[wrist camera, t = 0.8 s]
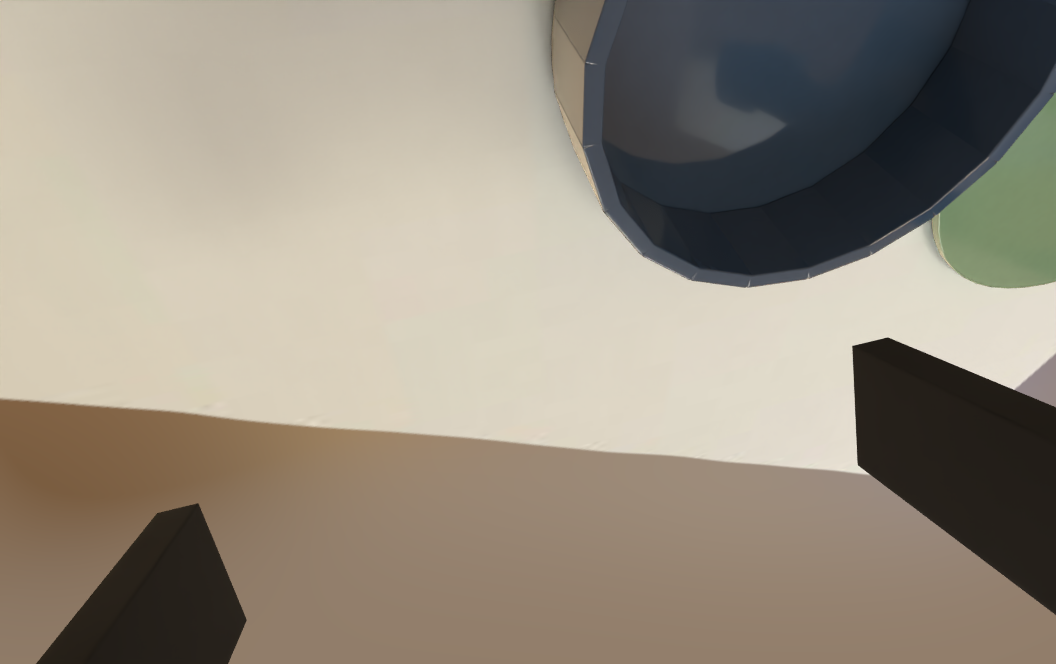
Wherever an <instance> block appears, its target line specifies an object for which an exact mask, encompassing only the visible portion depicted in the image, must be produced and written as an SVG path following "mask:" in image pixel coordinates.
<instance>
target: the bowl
mask: <svg viewBox="0 0 1056 664" xmlns="http://www.w3.org/2000/svg"><path fill="white" fill-rule="evenodd" d="M551 46H552V71H553V78H554V90H555V91H554V92H555V95H556V98H557V101H558V104H559V107H560V110H561V114H562V117H563V120H564V123H565V125H566V128H567V130H568V133H569V136H570V139H571V142H572V145H573V148H574V151H575V153H576V155H577V157H578V159H579V161H580V163H581V165H582V167H583V170H584V172H585V174H586V176H587V178H588V180H589V182H590V184H591V187H592V189H593V191H594V193H595V195H596V197H597V199H598V201H599V203H600V206H601V208H602V210H603V211H604V213H605V214H606V215H607V217H608V218H609V219H610V220H611V221H612V222H613V224H614V225H615V226H616V227H617V228H618V229H619V231H620V232H621V233H622V234H623V235H624V236H625V238H626V239H627V240H628V241H629V242H630V243H631V245H632V246H633V247H634V248H635V249H636V250H637V251H638V253H639V254H641V255H642V256H643V257H645V258H647V259H649V260H651V261H653V262H655V263H657V264H659V265H661V266H663V267H665V268H667V269H669V270H671V271H673V272H675V273H677V274H679V275H681V276H683V277H684V278H686V279H688V280H692V281H698V282H706V283H713V284H721V285H729V286H736V287H744V288H746V287H748V288H749V287H756V286H764V285H771V284H778V283H785V282H792V281H799V280H806V279H807V278H808V279H810V278H812V277H815V276H818V275H820V274H823V273H826V272H828V271H831V270H834V269H836V268H839V267H842V266H844V265H847V264H850V263H852V262H855V261H858V260H860V259H863V258H866V257H868V256H870V255H872V254H874V253H876V252H878V251H879V250H881V249H883V248H884V247H886V246H888V245H889V244H891V243H893V242H894V241H896V240H897V239H899V238H901V237H902V236H904V235H906V234H907V233H909V232H911V231H912V230H914V229H916V228H917V227H919V226H921V225H922V224H924V223H926V222H927V221H929V220H931V219H932V218H934V217H935V216H936V215H938V214H939V213H940V212H941V211H942V210H944V209H945V208H946V207H947V206H948V205H949V204H951V203H952V202H953V201H954V200H955V199H956V198H958V197H959V196H960V195H961V194H962V193H963V192H964V191H966V190H967V189H968V188H969V187H970V186H971V185H973V184H974V183H975V182H976V181H977V180H978V179H979V178H981V177H982V176H983V175H984V174H985V173H986V172H988V171H989V170H990V169H991V168H992V167H993V166H995V165H996V164H997V162H998V161H1000V159H1001V158H1002V157H1003V156H1004V155H1005V153H1006V152H1007V151H1008V150H1009V149H1010V147H1011V146H1012V145H1013V144H1014V143H1015V141H1016V140H1017V139H1018V138H1019V137H1020V135H1021V134H1022V133H1023V132H1024V130H1025V129H1026V128H1027V127H1028V126H1029V124H1030V123H1031V122H1032V121H1033V120H1034V118H1035V117H1036V116H1037V115H1038V114H1039V112H1040V111H1041V110H1042V109H1043V107H1044V106H1045V105H1046V104H1047V103H1048V101H1049V100H1050V99H1051V98H1052V97H1053V95H1054V93H1055V92H1056V0H555V4H554V14H553V25H552V35H551Z"/></svg>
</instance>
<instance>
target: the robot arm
mask: <svg viewBox="0 0 1056 664" xmlns="http://www.w3.org/2000/svg"><path fill="white" fill-rule="evenodd" d="M852 348H853V370H854V393H855V415H856V437H857V460H858V466H860V467H861V468H862V469H864V470H865V471H866V472H868V473H869V474H870V475H872V476H873V477H874V478H876V479H877V480H878V481H880V482H881V483H882V484H883V485H885V486H886V487H887V488H889V489H890V490H891V491H893V492H894V493H895V494H897V495H898V496H900V497H901V498H902V499H903V500H905V501H906V502H907V503H909V504H910V505H911V506H913V507H914V508H915V509H917V510H918V511H919V512H920V513H922V514H923V515H924V516H926V517H927V518H928V519H930V520H931V521H933V522H934V523H935V524H936V525H938V526H939V527H941V528H942V529H943V530H945V531H946V532H947V533H948V534H950V535H951V536H952V537H954V538H955V539H956V540H958V541H959V542H960V543H962V544H963V545H964V546H965V547H967V548H968V549H970V550H971V551H972V552H973V553H975V554H976V555H978V556H979V557H980V558H981V559H983V560H984V561H985V562H987V563H988V564H989V565H991V566H992V567H993V568H995V569H996V570H997V571H998V572H1000V573H1001V574H1002V575H1004V576H1005V577H1006V578H1008V579H1009V580H1010V581H1012V582H1013V583H1014V584H1016V585H1017V586H1018V587H1020V588H1021V589H1022V590H1024V591H1025V592H1026V593H1028V594H1029V595H1030V596H1032V597H1033V598H1034V599H1036V600H1037V601H1038V602H1040V603H1041V604H1042V605H1044V606H1045V607H1046V608H1047V609H1049V610H1050V611H1051V612H1053V613H1054V614H1055V615H1056V407H1054V406H1051V405H1049V404H1046V403H1044V402H1041V401H1039V400H1037V399H1034V398H1032V397H1030V396H1027V395H1025V394H1022V393H1020V392H1017V391H1015V390H1013V389H1010V388H1008V387H1006V386H1003V385H1001V384H998V383H996V382H994V381H991V380H989V379H986V378H984V377H982V376H979V375H977V374H974V373H972V372H970V371H967V370H965V369H962V368H960V367H958V366H955V365H953V364H950V363H948V362H946V361H943V360H941V359H938V358H936V357H933V356H931V355H929V354H926V353H924V352H921V351H919V350H917V349H914V348H912V347H909V346H907V345H905V344H902V343H900V342H897V341H895V340H893V339H890V338H884V339H880V340H876V341H871V342H867V343H863V344H859V345H855V346H852ZM245 623H246V617H245V615H244V612H243V610H242V607H241V605H240V603H239V600H238V598H237V595H236V593H235V591H234V588H233V586H232V583H231V581H230V579H229V576H228V574H227V571H226V569H225V566H224V564H223V562H222V559H221V557H220V554H219V552H218V550H217V547H216V545H215V542H214V540H213V538H212V535H211V533H210V530H209V528H208V526H207V523H206V521H205V518H204V516H203V514H202V511H201V509H200V507H199V504H194V505H189V506H185V507H181V508H177V509H173V510H169V511H164V512H161V513H157V514H156V516H155V517H154V518H153V519H152V520H151V522H150V523H149V524H148V525H147V527H146V528H145V529H144V530H143V532H142V533H141V534H140V535H139V537H138V538H137V539H136V540H135V542H134V543H133V544H132V545H131V546H130V548H129V549H128V550H127V552H126V553H125V554H124V555H123V557H122V558H121V559H120V560H119V561H118V563H117V564H116V565H115V566H114V568H113V569H112V570H111V571H110V573H109V574H108V575H107V576H106V578H105V579H104V580H103V581H102V583H101V584H100V585H99V586H98V588H97V589H96V590H95V591H94V592H93V594H92V595H91V596H90V598H89V599H88V600H87V601H86V603H85V604H84V605H83V606H82V607H81V609H80V610H79V611H78V612H77V614H76V615H75V616H74V617H73V619H72V620H71V621H70V622H69V624H68V625H67V626H66V627H65V629H64V630H63V631H62V632H61V634H60V635H59V636H58V637H57V638H56V640H55V641H54V642H53V643H52V645H51V646H50V647H49V649H48V650H47V651H46V652H45V654H44V655H43V656H42V657H41V658H40V660H39V661H38V662H37V663H36V664H228V662H229V660H230V658H231V655H232V653H233V651H234V648H235V646H236V644H237V641H238V639H239V637H240V635H241V632H242V630H243V628H244V625H245Z"/></svg>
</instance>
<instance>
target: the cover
mask: <svg viewBox="0 0 1056 664" xmlns="http://www.w3.org/2000/svg"><path fill="white" fill-rule="evenodd" d="M932 230H933V235H934V241H935V244H936V246H937V248H938V251H939V253H940V255H941V256H942V257H943V259H944V260H945V261H946V263H947V264H948V265H949V266H950V267H951V268H952V269H953V270H955V271H956V272H957V273H959V274H960V275H961V276H962V277H964V278H966V279H968V280H970V281H972V282H974V283H977V284H981V285H985V286H989V287H996V288H1025V287H1031V286H1038V285H1044V284H1048V283H1052V282H1056V92H1055V93H1054V95H1053V97H1052V98H1051V99H1050V100H1049V101H1048V103H1047V104H1046V105H1045V106H1044V107H1043V109H1042V110H1041V111H1040V112H1039V114H1038V115H1037V116H1036V117H1035V118H1034V120H1033V121H1032V122H1031V123H1030V124H1029V126H1028V127H1027V128H1026V129H1025V130H1024V132H1023V133H1022V134H1021V135H1020V137H1019V138H1018V139H1017V140H1016V141H1015V143H1014V144H1013V145H1012V146H1011V147H1010V149H1009V150H1008V151H1007V152H1006V153H1005V155H1004V156H1003V157H1002V158H1001V159H1000V161H998V162H997V164H996V165H995V166H993V167H992V168H991V169H990V170H989V171H988V172H986V173H985V174H984V175H983V176H982V177H981V178H979V179H978V180H977V181H976V182H975V183H974V184H973V185H971V186H970V187H969V188H968V189H967V190H966V191H964V192H963V193H962V194H961V195H960V196H959V197H958V198H956V199H955V200H954V201H953V202H952V203H951V204H949V205H948V206H947V207H946V208H945V209H944V210H942V211H941V212H940V213H939V214H938V215H936V216H935V217H934V218H932Z"/></svg>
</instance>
